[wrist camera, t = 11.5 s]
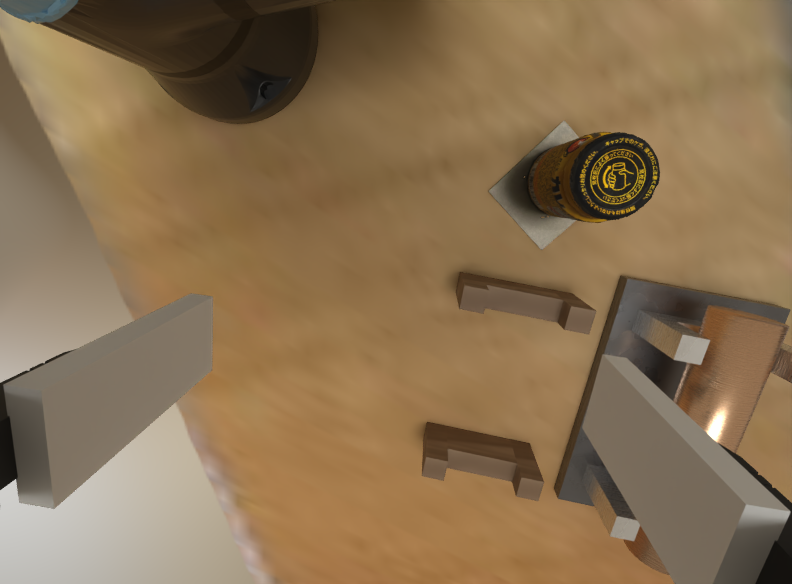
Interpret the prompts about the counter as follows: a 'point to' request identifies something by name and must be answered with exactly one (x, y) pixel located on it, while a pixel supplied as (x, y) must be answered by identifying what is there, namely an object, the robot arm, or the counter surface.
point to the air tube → (723, 386)
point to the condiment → (578, 181)
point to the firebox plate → (659, 361)
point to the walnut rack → (485, 450)
